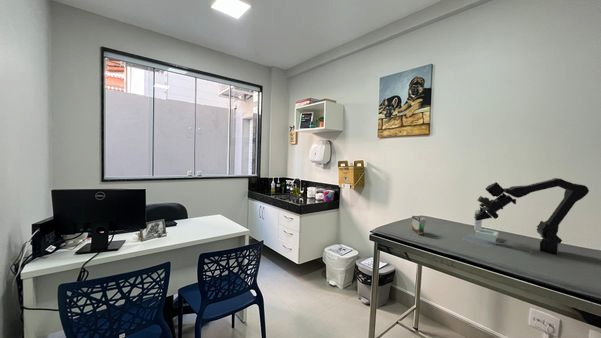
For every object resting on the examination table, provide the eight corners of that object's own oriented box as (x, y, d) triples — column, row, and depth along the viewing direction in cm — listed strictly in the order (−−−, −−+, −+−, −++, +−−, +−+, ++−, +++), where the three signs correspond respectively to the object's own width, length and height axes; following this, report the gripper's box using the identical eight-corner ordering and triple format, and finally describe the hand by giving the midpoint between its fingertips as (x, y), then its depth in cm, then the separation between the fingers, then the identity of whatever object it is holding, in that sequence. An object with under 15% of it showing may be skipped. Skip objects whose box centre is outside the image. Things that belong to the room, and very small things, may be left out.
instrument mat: (505, 240, 151) (505, 239, 151) (488, 248, 137) (488, 247, 137) (476, 232, 164) (476, 232, 164) (457, 239, 150) (457, 239, 150)
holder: (497, 238, 153) (498, 231, 153) (495, 242, 146) (495, 235, 146) (478, 234, 160) (478, 228, 160) (475, 237, 153) (475, 231, 153)
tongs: (479, 229, 149) (481, 210, 148) (481, 231, 145) (482, 211, 144) (473, 229, 150) (475, 209, 149) (475, 230, 146) (476, 210, 146)
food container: (429, 236, 156) (430, 220, 155) (419, 235, 156) (420, 220, 155) (420, 230, 168) (420, 215, 168) (411, 229, 168) (411, 215, 168)
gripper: (484, 190, 153) (462, 205, 158) (492, 194, 136) (467, 211, 141) (499, 203, 150) (476, 219, 155) (509, 210, 133) (483, 227, 138)
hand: (475, 219), depth 148 cm, fingers closed on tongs, 4 cm apart
